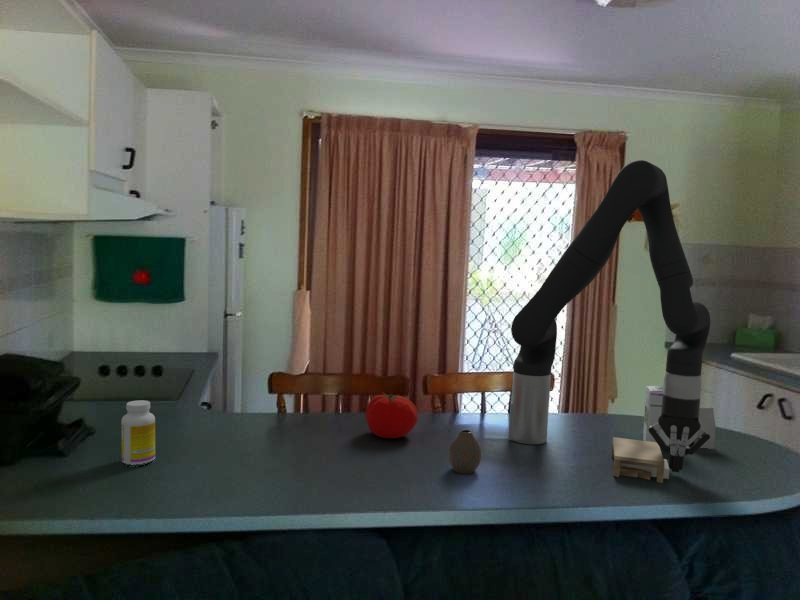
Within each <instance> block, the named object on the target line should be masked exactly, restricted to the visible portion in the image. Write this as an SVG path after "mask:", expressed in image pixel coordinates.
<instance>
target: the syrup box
mask: <svg viewBox="0 0 800 600" xmlns="http://www.w3.org/2000/svg"><path fill="white" fill-rule="evenodd" d="M662 396H663V385H662V386H660V385H646V387H645V402H644V413H643V414H644V417H643V433H642V441H649V442H656V441H655V439H654V438H653V437H652V435H651V434H650V432H649V430H648V426H649V425H654V424H655V423H657V422H658V419H659V417H660V416H661V409H662ZM659 429H660V433H659V435H660V437H661V438H662V439H663V441H664V442H665V444H666V445H668V446H669V438H668V437H667V436H666V434H665V433H664V431H663V430H662V428H661V427H660V428H659ZM659 447H660V446H659Z"/></svg>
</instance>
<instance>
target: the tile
mask: <svg viewBox="0 0 800 600" xmlns="http://www.w3.org/2000/svg"><path fill="white" fill-rule="evenodd" d="M663 459H664V462H665V463H664V475H663V479H667V480H669V479H670V468H669V465H668V460H667V459H666V458H663ZM621 467H629V468H636V469H641V470H644V471H648V472H651V476H652V477H653V478H656V477H657V465H655V464H647V463H639V462H631V461H623V460H621Z"/></svg>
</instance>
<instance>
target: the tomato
mask: <svg viewBox="0 0 800 600" xmlns="http://www.w3.org/2000/svg"><path fill="white" fill-rule="evenodd" d="M381 393H382V394H378V395H376V396H374V397H373V398H372V399H371V400H370V401H369V403H368V405H367V407H366V409H365V410H366V411H365V419H366V423H367V426H368V428H369V431H370V432H371V433H373V435H376V436H377V437H380V438H383V439H394V438H395V439H398V438H401V437H404V436H406V435H408V434H409V433H411V431H412V430H413V429H414V428H415V426H416V424H417V423H418V420H419V415H418V410H417V407H416V405H415V404H414V403H413V401H411V400H410V399H408V398H406V397H403V396H401V395H400V394H396V395H393V394H386V393H385V392H383V391H381Z"/></svg>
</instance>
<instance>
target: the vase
mask: <svg viewBox="0 0 800 600" xmlns="http://www.w3.org/2000/svg"><path fill="white" fill-rule="evenodd" d="M448 459H449V464H450V467H452V469H453V470H454V471H455V472H456V473H459V474H463V475H464V474H465V475H466V474H472V473H474V472H475V471H476V470H477V469H478V467H479V466H480V462H481V459H482V451H481V447H480V444H479V442H478V441H477V438H475V436H474V435H473V432H472V430H469V429H462V430H460V431H459V433H458V434H457V436H456V437H455V438H454V439H453V441H452V442H451V444H450V446H449V449H448Z"/></svg>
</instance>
